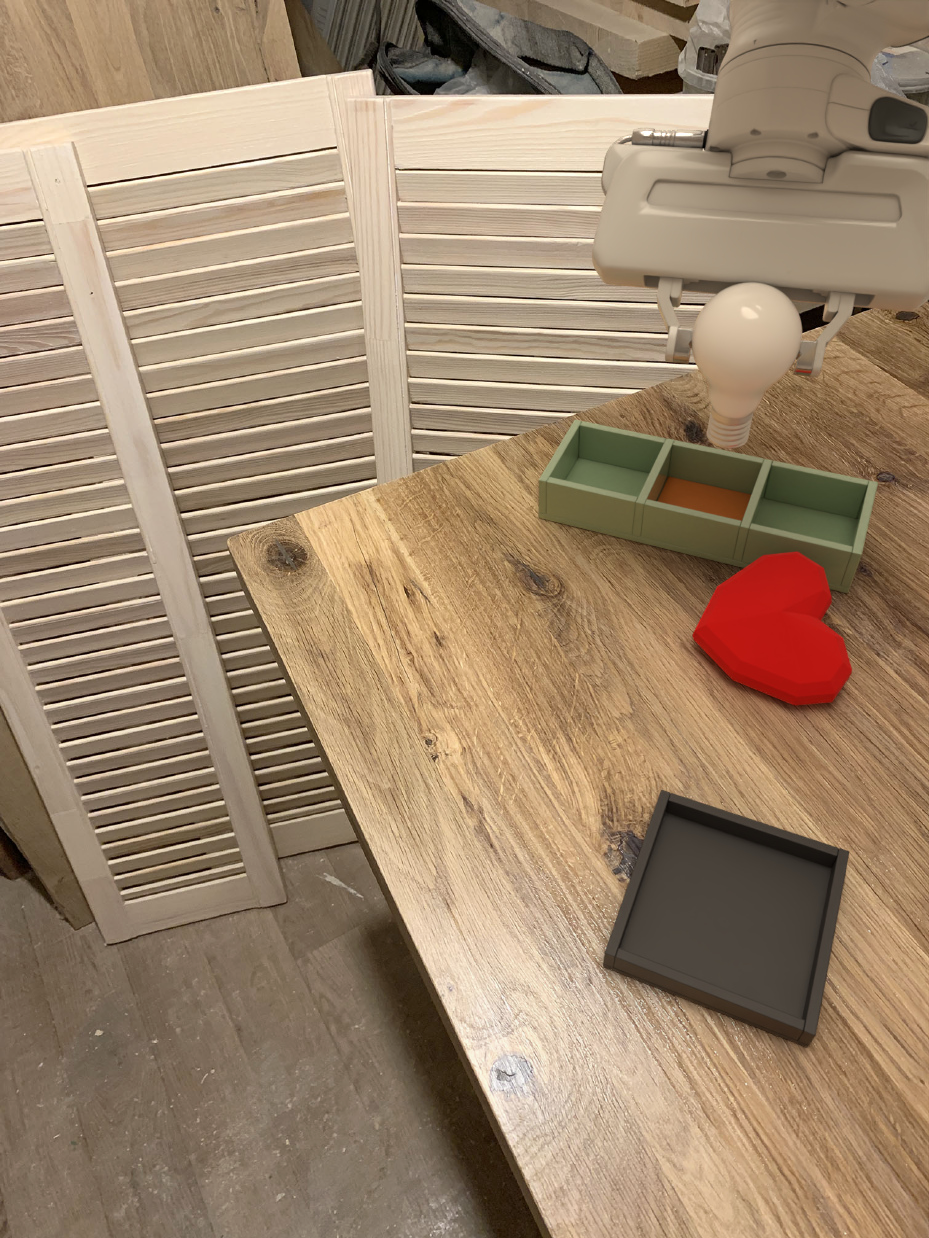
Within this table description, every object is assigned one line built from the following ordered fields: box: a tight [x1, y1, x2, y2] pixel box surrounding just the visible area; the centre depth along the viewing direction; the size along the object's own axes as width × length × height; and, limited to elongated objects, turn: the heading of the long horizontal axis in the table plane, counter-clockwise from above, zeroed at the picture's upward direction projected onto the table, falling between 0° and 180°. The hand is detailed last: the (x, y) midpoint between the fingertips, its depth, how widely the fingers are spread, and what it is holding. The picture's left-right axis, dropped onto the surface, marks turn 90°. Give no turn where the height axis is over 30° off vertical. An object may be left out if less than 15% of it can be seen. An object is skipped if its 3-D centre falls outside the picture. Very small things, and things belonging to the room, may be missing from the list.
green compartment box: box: [538, 419, 879, 594], centre depth 75 cm, size 25×9×4 cm, turn 66°
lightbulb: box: [691, 282, 803, 449], centre depth 57 cm, size 6×6×11 cm
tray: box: [602, 789, 850, 1048], centre depth 53 cm, size 11×11×2 cm
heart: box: [691, 552, 853, 706], centre depth 66 cm, size 12×4×10 cm
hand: (741, 367), depth 56 cm, fingers closed on lightbulb, 6 cm apart
